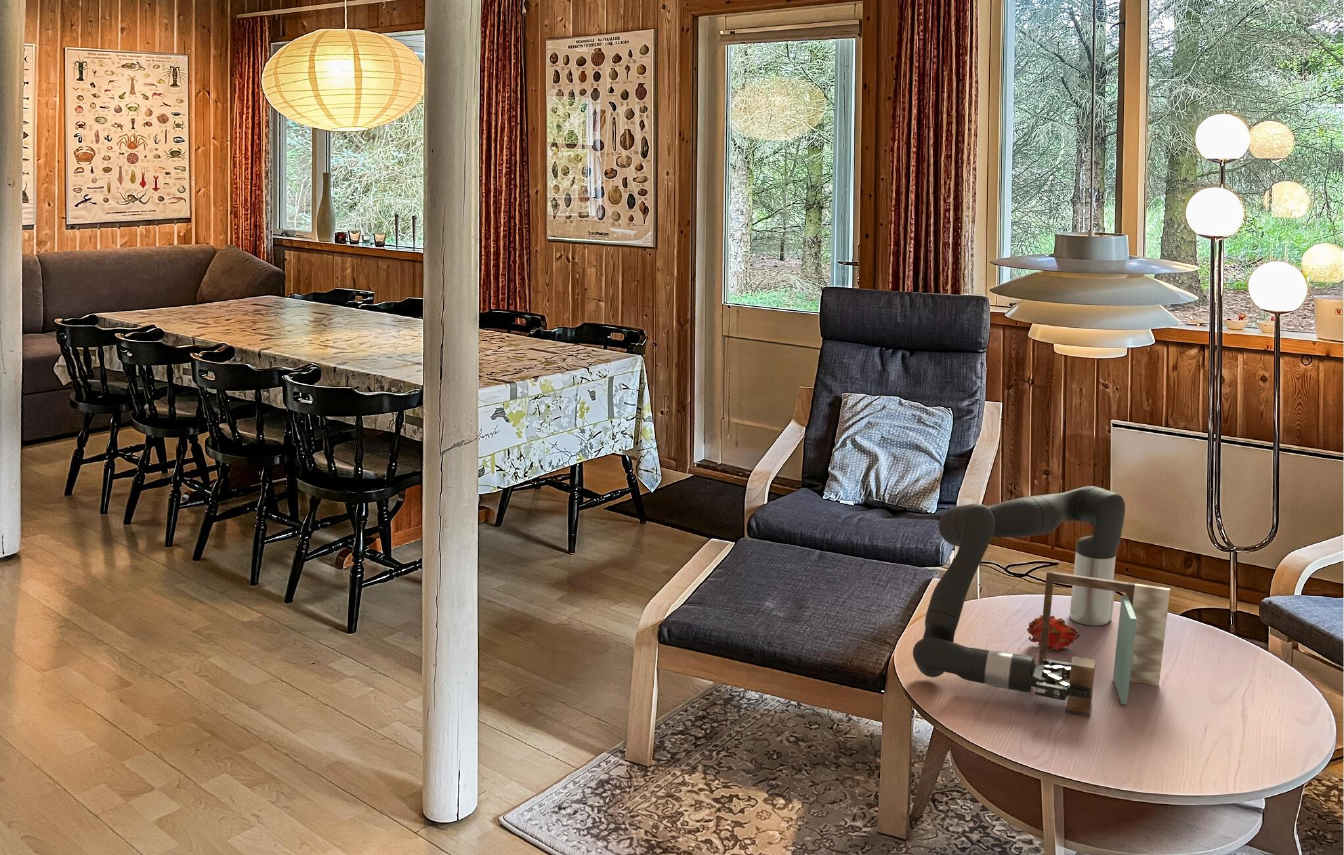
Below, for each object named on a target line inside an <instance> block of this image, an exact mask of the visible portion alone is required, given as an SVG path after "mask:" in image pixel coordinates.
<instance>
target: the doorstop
mask: <svg viewBox="0 0 1344 855" xmlns="http://www.w3.org/2000/svg"><path fill="white" fill-rule="evenodd" d="M1096 662H1097V661H1096V659H1093V658H1092V659H1091V658H1088V657H1087V658H1086V657H1080V656H1077V655H1076V656H1074V655H1073V656H1072V658H1071V662H1070V663H1071V668H1070V678H1069V680H1068V684H1070V685H1071V686H1072V685H1078V686H1083V687H1089V688H1090V689H1091V692H1090V698H1089V699H1085V698H1080V697H1074V696H1070V697H1067V698H1066V706H1065V712H1064V713H1065V714H1067V715H1072V716H1078V717H1083V718H1089V719H1090V718H1091V714H1092V707H1093V704H1092V701H1093V693H1094V692H1093V691H1094V690H1093V689H1094V682H1095V670H1096V669H1095V668H1096Z"/></svg>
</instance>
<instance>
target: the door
mask: <svg viewBox="0 0 1344 855" xmlns="http://www.w3.org/2000/svg"><path fill="white" fill-rule="evenodd" d="M1119 607H1120V610H1119V618H1118V628H1117V636H1116V637H1117V638H1116V646H1115V652H1114V653H1115V656H1114V665H1113V671H1112V672H1113V673H1112V674H1113V675H1112V678H1113V681H1114V682H1113V683H1114V684H1115V687H1116V688H1115V689H1116V692H1117V695H1118V698H1119V701H1120V704H1121V705H1128V701H1129V691H1130V690H1129V689H1130V684H1131V681H1130V674H1131V665H1132V663H1136V662H1137V655H1133V647H1134V638H1135V629H1136V620H1137V619H1136V616H1135V614H1134V611H1133V608H1132V606H1131V603H1130V601H1129V598H1128V596H1126V595H1122V594H1121V600H1120V606H1119Z"/></svg>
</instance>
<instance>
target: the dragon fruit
mask: <svg viewBox="0 0 1344 855" xmlns="http://www.w3.org/2000/svg"><path fill="white" fill-rule="evenodd" d="M1042 619H1043V614H1040V615H1039V617H1036V618H1034V620H1032V621H1031V622H1029V623H1028V627H1027V629H1026V631H1027V633H1028V634H1029V635H1030V636H1028V641H1030V642H1031V643H1038V647H1040V641H1041V630H1042ZM1065 622H1066V621H1065V619H1063V617H1062V618H1061V617H1059V618H1056V617H1055V616H1054V615H1050V625H1049V635H1048V646H1047V652H1050V651H1051V650H1057V651H1059V652H1065V651H1069V648H1067V647H1069V646H1071V644H1074V642H1075V641H1077V640H1078V639H1079V638H1080V634H1079V631H1078V630H1077V629H1076V628H1075V627H1073V626H1070V625H1068V624H1066V623H1065Z"/></svg>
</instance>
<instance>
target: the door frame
mask: <svg viewBox="0 0 1344 855" xmlns="http://www.w3.org/2000/svg"><path fill="white" fill-rule="evenodd" d="M1045 576H1046V577H1045V588H1044V598H1043V599H1044V600H1043V609H1042V610H1043V611H1042V615H1043V619H1042V630H1041V641H1040V646H1039V654H1038V663H1037V665H1043V659H1047V657H1048V656H1047V655H1048V651H1047V646H1048V635H1049V625H1050V616H1051V612H1052V604H1053V603H1052V602H1053V591H1054V583H1056V584H1064V585H1070V586H1073V585H1075V586H1082V587H1089V588H1096V589H1103V590H1109V591H1115V593H1116V592H1117V593H1123V594H1125V596H1128V598H1129V601H1130V603H1131V606H1132V608H1133V611H1134V614H1135V616H1136V619H1137V620H1136V629H1135V638H1134V647H1133V655H1137V662H1136V663H1132V665H1131V674H1130V682H1132V683H1133V682H1134V683H1138V684H1144V685H1145V684H1146V685H1149V686H1151V685H1152V686H1157V687H1159V685H1160V678H1161V671H1162V670H1161V669H1162V664H1163V663H1162V661H1163V653H1164V646H1165V645H1164V644H1165V637H1166V629H1167V620H1168V619H1167V618H1168V611H1169V603H1170V602H1169V601H1170V594H1171V592H1170V591H1171V588H1168V587H1161V586H1156V585H1155V586H1154V585H1148V584H1141V583H1133V582H1126V581H1121V580H1120V581H1119V580H1114V579H1113V580H1107V579H1100V578H1093V577H1086V576H1079V575H1074V574H1071V573H1064V572H1057V571H1050V570H1046V575H1045Z"/></svg>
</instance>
